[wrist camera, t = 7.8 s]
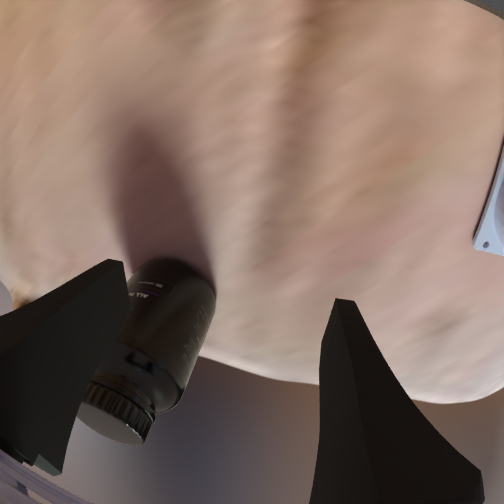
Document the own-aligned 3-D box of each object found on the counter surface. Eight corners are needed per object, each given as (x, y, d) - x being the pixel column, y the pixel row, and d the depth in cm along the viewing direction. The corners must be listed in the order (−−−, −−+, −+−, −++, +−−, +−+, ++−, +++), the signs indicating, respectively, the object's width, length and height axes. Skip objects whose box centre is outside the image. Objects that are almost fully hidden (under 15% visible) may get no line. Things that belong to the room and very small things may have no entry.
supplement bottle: (155, 236, 22) (58, 370, 12) (235, 291, 23) (185, 444, 13) (123, 291, 25) (48, 407, 15) (190, 336, 27) (140, 461, 17)
